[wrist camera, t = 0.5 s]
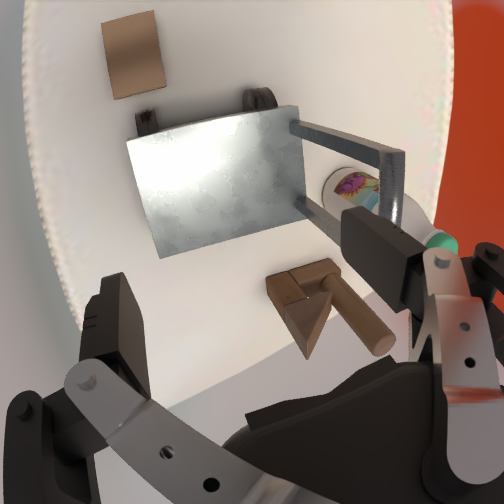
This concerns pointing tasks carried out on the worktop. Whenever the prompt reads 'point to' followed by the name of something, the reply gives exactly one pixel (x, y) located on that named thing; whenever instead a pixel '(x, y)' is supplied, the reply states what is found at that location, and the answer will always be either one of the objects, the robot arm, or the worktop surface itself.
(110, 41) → the block
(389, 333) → the wooden block
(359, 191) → the milk bottle
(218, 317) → the worktop surface
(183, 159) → the trolley
